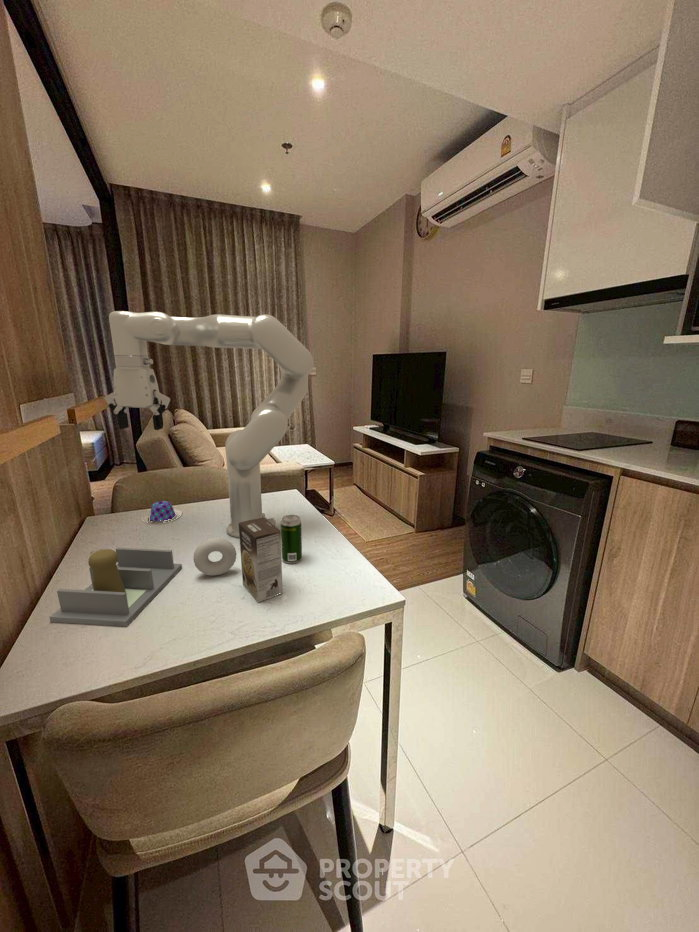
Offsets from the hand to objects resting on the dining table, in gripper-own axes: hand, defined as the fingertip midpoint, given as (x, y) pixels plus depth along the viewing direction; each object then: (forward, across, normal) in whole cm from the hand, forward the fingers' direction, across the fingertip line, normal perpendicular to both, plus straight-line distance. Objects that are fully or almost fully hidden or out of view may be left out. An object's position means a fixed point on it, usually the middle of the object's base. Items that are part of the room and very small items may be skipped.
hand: (141, 428), depth 100 cm
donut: (+34, -25, +16) cm, 45 cm away
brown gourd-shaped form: (+32, -7, +29) cm, 44 cm away
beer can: (+34, -42, +7) cm, 54 cm away
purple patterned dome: (+34, +7, -16) cm, 38 cm away
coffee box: (+34, -38, +21) cm, 55 cm away
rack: (+33, -7, +25) cm, 42 cm away
